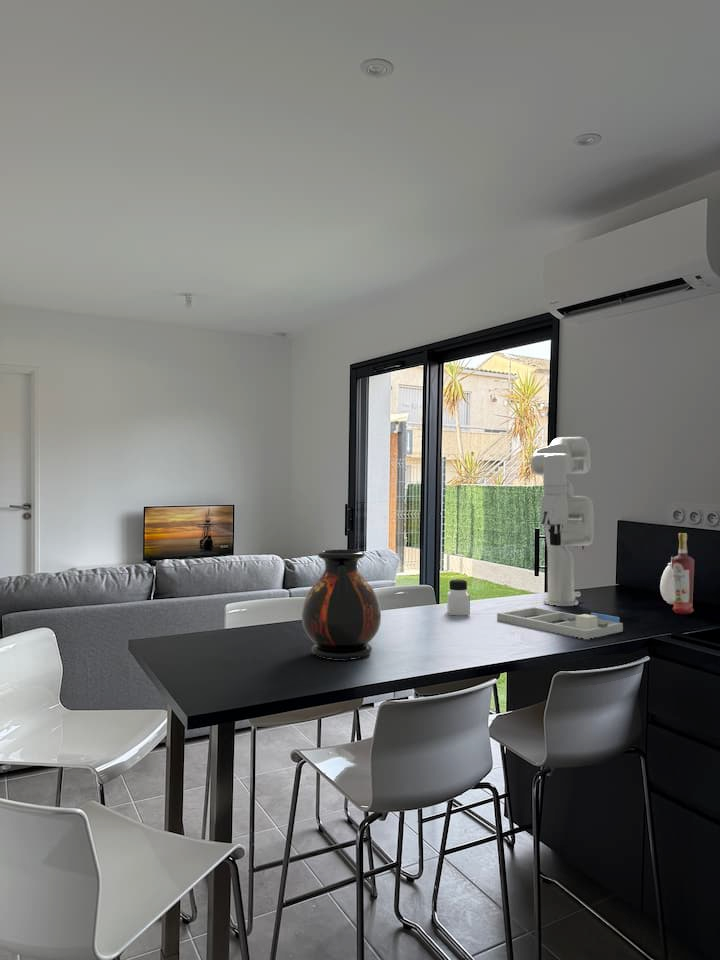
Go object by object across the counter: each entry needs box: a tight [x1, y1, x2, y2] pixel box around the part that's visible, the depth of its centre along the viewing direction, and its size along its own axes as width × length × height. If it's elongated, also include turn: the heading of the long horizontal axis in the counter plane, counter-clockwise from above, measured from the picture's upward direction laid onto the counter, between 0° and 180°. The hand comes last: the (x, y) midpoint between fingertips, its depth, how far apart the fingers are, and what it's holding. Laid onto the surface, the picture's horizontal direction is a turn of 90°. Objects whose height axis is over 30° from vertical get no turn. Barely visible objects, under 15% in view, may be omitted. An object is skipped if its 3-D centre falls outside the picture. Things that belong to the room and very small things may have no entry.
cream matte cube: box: [576, 613, 597, 630], centre depth 218 cm, size 4×4×5 cm
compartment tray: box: [496, 606, 624, 640], centre depth 227 cm, size 19×35×4 cm, turn 37°
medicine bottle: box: [446, 578, 471, 616], centre depth 247 cm, size 7×7×12 cm
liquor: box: [670, 532, 695, 616], centre depth 246 cm, size 7×7×28 cm
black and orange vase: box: [301, 549, 382, 659], centre depth 192 cm, size 22×22×28 cm
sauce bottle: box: [659, 555, 674, 605], centre depth 264 cm, size 8×8×18 cm
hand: (555, 545), depth 238 cm, fingers closed
